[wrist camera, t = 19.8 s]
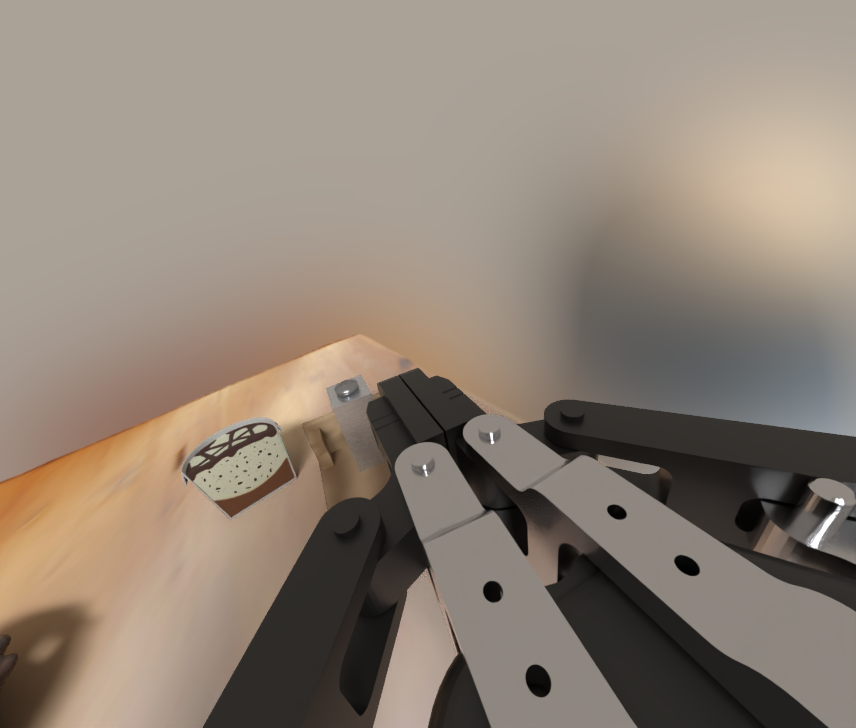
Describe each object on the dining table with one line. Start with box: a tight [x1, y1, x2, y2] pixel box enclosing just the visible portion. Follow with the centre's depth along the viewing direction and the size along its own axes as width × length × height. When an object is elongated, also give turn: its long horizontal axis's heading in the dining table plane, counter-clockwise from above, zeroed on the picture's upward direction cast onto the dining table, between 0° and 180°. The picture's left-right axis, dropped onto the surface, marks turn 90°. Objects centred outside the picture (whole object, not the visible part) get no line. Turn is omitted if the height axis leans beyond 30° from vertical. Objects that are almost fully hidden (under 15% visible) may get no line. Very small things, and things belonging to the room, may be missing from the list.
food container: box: [181, 417, 297, 520], centre depth 45 cm, size 12×6×10 cm, turn 129°
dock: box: [303, 393, 390, 510], centre depth 42 cm, size 15×19×7 cm
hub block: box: [326, 375, 384, 472], centre depth 45 cm, size 5×6×12 cm
